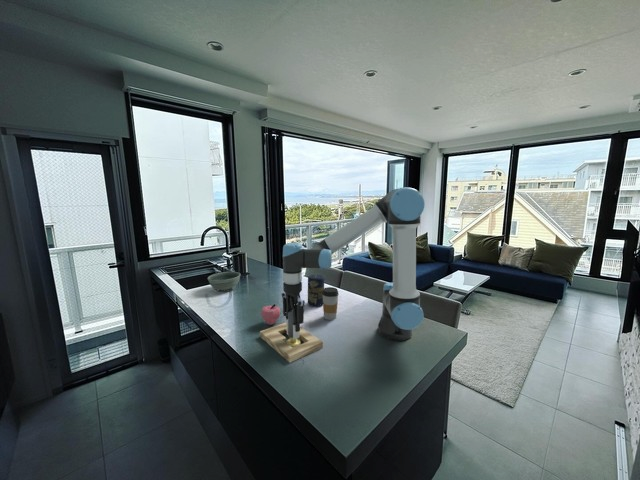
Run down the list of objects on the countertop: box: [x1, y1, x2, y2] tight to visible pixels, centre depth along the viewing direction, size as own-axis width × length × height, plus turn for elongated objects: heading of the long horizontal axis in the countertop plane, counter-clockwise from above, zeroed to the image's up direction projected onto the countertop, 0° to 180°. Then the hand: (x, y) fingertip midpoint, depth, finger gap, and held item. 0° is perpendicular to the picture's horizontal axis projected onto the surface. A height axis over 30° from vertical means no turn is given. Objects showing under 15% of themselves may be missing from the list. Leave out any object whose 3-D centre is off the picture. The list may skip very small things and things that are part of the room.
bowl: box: [207, 271, 241, 293], centre depth 175 cm, size 21×21×10 cm
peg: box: [285, 311, 301, 348], centre depth 109 cm, size 6×6×14 cm
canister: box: [307, 273, 325, 307], centre depth 151 cm, size 10×10×18 cm
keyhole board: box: [259, 321, 324, 363], centre depth 111 cm, size 24×16×3 cm, turn 40°
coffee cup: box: [322, 286, 339, 321], centre depth 134 cm, size 8×8×15 cm
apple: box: [260, 303, 281, 326], centre depth 127 cm, size 10×9×10 cm
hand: (293, 335), depth 109 cm, fingers closed on peg, 4 cm apart
